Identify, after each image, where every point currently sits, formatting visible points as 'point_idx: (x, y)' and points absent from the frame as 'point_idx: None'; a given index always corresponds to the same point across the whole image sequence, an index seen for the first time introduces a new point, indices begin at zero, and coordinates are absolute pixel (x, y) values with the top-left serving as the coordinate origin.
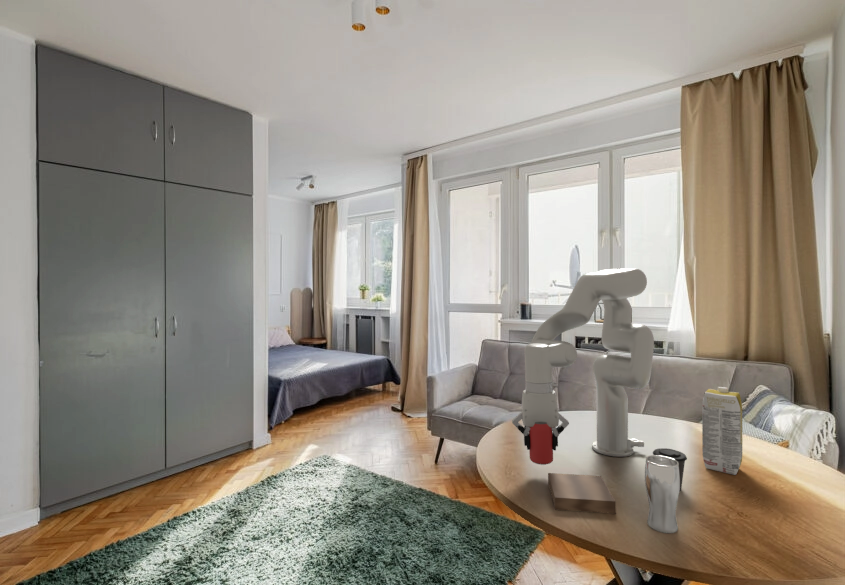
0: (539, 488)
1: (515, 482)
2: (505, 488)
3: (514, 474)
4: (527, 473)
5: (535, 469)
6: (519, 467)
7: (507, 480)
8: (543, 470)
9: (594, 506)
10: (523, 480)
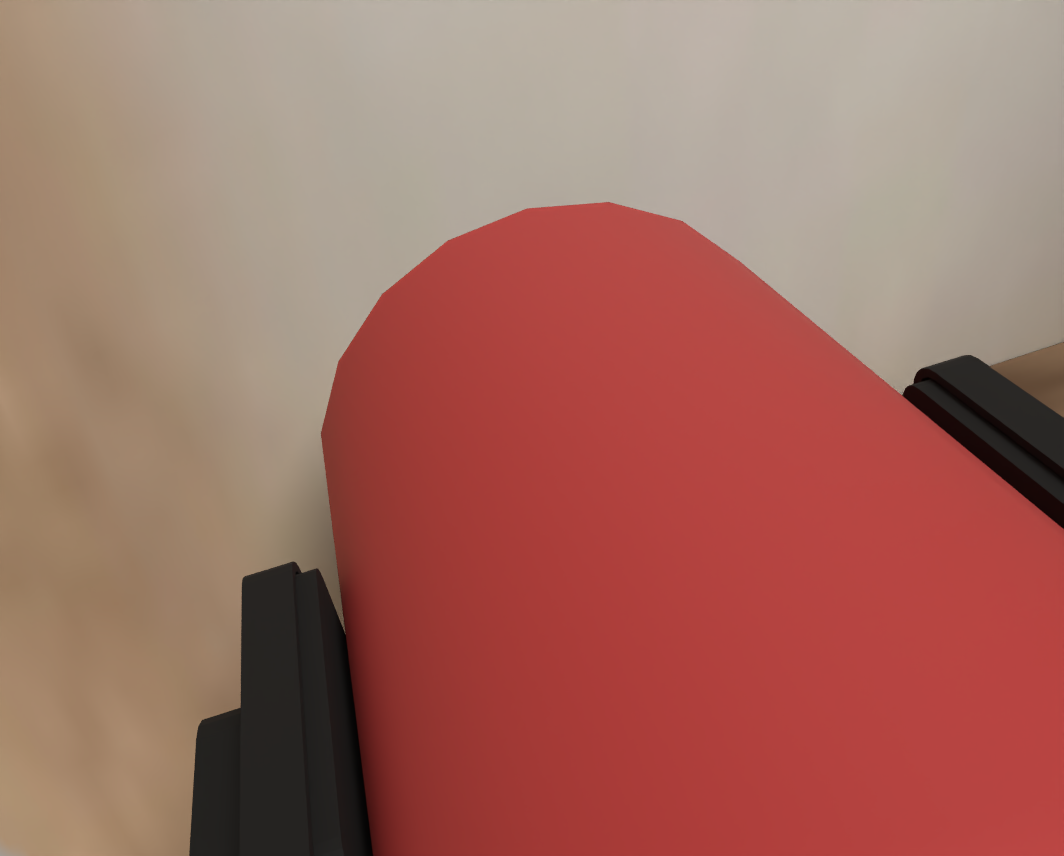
0: None
1: (171, 648)
2: (109, 831)
3: (55, 427)
4: (249, 301)
5: (342, 74)
6: (21, 99)
7: (38, 649)
8: (486, 63)
9: None
10: (259, 549)
